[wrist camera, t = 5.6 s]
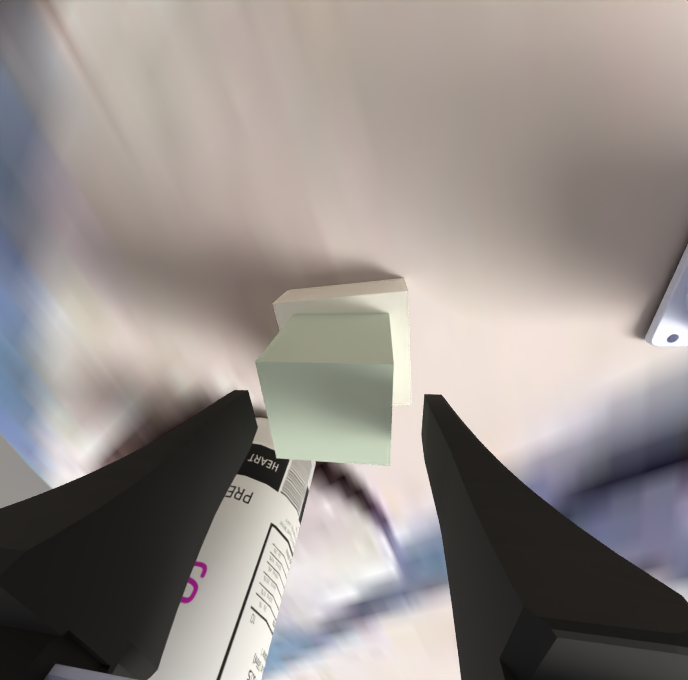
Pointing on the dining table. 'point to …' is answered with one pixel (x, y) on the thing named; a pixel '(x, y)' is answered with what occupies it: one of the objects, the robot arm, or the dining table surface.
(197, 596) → the supplement can
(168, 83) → the dining table surface
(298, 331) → the green cube
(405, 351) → the cream box
